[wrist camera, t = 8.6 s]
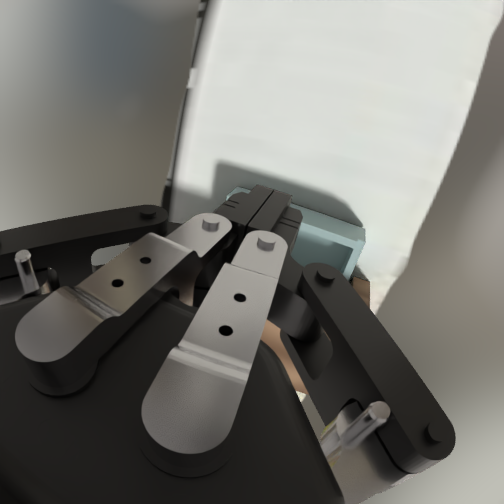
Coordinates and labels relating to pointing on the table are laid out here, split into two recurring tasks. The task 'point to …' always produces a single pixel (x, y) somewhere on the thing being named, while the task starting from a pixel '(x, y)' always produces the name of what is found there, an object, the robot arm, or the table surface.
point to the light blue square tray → (325, 240)
